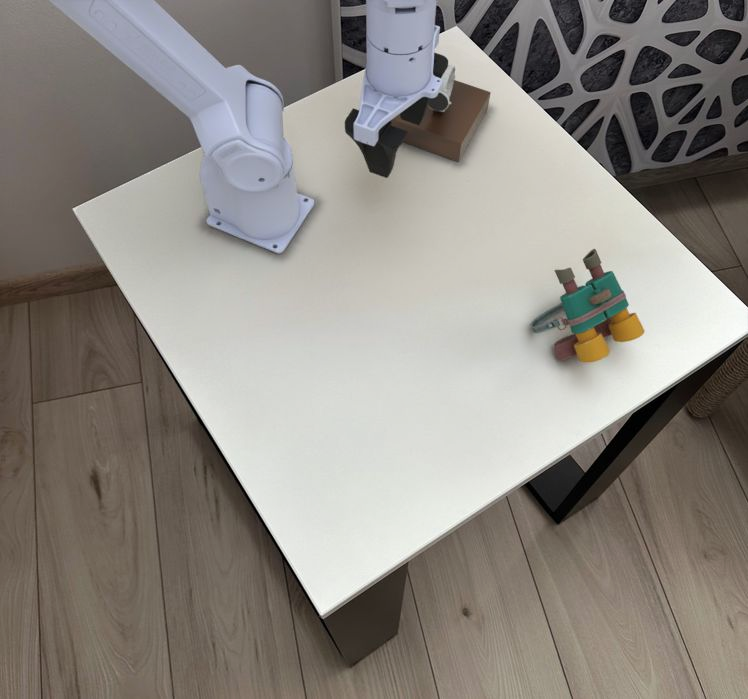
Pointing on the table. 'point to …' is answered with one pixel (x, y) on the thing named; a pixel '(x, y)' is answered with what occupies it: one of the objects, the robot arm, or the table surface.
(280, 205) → the robot arm
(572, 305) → the binoculars
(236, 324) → the table surface
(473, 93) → the brown square tile
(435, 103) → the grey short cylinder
